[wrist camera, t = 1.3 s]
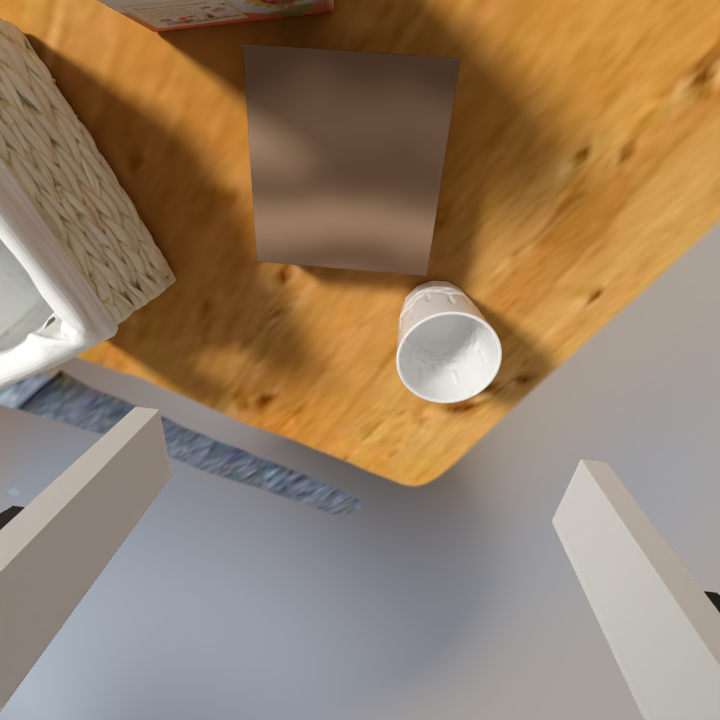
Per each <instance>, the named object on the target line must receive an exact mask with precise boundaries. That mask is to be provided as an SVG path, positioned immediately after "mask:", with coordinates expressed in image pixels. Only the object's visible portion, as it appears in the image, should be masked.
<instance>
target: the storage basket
mask: <svg viewBox="0 0 720 720" xmlns="http://www.w3.org/2000/svg"><path fill="white" fill-rule="evenodd" d="M55 82H56V81H55V79H53V78H52V76H51V74H50V72H49V70H48V68H47V67H46V65H45V64H44V63H43V62H42V61H41V60H40V59H39V57H38V55H37V54H36V52H35V51H34V49H33V47H32V46H31V44H30V42H29V41H28V39H27V38H26V36H25V35H24V34H23V32H22V31H21V30H20V29H19V28H18V27H17V26H16V25H14V24H12V23H11V22H8V21H6V20H2V19H1V18H0V389H1V388H4V387H6V386H9V385H11V384H14V383H16V382H19V381H21V380H23V379H26V378H28V377H31V376H33V375H36V374H38V373H41V372H43V371H46V370H48V369H51V368H53V367H55V366H58V365H60V364H62V363H64V362H66V361H68V360H70V359H72V358H74V357H76V356H77V355H79V354H81V353H83V352H85V351H87V350H88V349H90V348H92V347H94V346H96V345H98V344H99V343H101V342H103V341H105V340H108V339H110V338H112V337H113V336H114V335H115V334H116V332H117V330H118V326H117V325H119V324H120V323H121V322H123V321H125V320H126V319H128V318H129V317H130V316H131V314H132V312H133V311H136V310H138V309H140V308H141V307H142V306H145V305H146V304H147V303H148V302H149V301H150V300H152V299H155V298H156V297H158V296H159V295H160V294H161V293H162V292H164V291H165V289H166V288H168V287H169V286H171V285H172V284H173V283H175V281H176V278H175V276H174V274H173V272H172V270H171V269H170V267H169V266H168V263H167V261H166V259H165V258H164V257H163V255H162V253H161V251H160V250H159V248H158V247H157V246H156V245H155V243H154V241H153V238H152V236H151V234H150V233H149V231H148V230H147V228H146V226H145V225H144V223H143V222H142V220H141V219H140V218H139V216H138V213H137V211H136V209H135V206H134V204H133V202H132V201H131V199H130V198H129V196H128V195H127V193H126V192H125V191H124V190H123V188H122V187H121V186H120V185H119V183H118V181H117V178H116V176H115V174H114V172H113V171H112V169H111V168H110V166H109V165H108V163H107V161H106V160H105V159H104V157H103V156H102V155H101V153H100V152H99V151H98V150H97V147H96V144H95V142H94V139H93V138H92V136H91V135H90V133H89V131H88V130H87V129H86V127H85V126H84V125H83V124H82V123H81V122H80V121H79V120H78V119H77V117H78V115H75V114H74V111H73V110H72V108H71V106H70V105H69V104H68V103H67V101H66V100H65V98H64V97H63V96H62V94H61V92H60V91H59V89H58V88H57V86H56V84H55Z"/></svg>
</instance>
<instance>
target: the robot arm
mask: <svg viewBox="0 0 720 720" xmlns="http://www.w3.org/2000/svg"><path fill="white" fill-rule="evenodd" d="M171 475H172V474H171V469H170V463H169V458H168V453H167V447H166V442H165V437H164V432H163V426H162V421H161V416H160V411H159V410H158V409H150V408H141V407H135V408H134V409H133V410H131V411H130V412H129V413H128V414H127V415H126V416H125V417H124V418H123V419H122V420H121V421H119V422H118V423H117V424H116V425H115V426H114V427H113V428H112V429H111V430H110V431H108V432H107V433H106V434H105V435H104V436H103V437H102V438H101V439H100V440H99V441H97V442H96V443H95V444H94V445H93V446H92V447H91V448H90V449H89V450H88V451H87V452H85V453H84V454H83V455H82V456H81V457H80V458H79V459H78V460H77V461H76V462H74V463H73V464H72V465H71V466H70V467H69V468H68V469H67V470H66V471H65V472H64V473H63V474H61V475H60V476H59V477H58V478H57V479H56V480H55V481H54V482H53V483H51V484H50V485H49V486H48V487H47V488H46V489H45V490H44V491H43V492H42V493H41V494H40V495H38V496H37V497H36V498H35V499H34V500H33V501H32V502H31V503H30V504H29V505H27V506H26V507H18V506H12V507H11V508H9V509H7V510H5V511H4V512H2V513H0V711H1V710H2V708H3V707H4V706H5V704H6V703H7V701H8V700H9V699H10V697H11V696H12V695H13V693H14V692H15V690H16V689H17V688H18V686H19V685H20V684H21V682H22V681H23V679H24V678H25V677H26V675H27V674H28V673H29V671H30V669H31V668H32V667H33V666H34V664H35V663H36V662H37V660H38V659H39V657H40V656H41V655H42V653H43V652H44V651H45V649H46V648H47V646H48V645H49V644H50V642H51V641H52V640H53V638H54V637H55V635H56V634H57V633H58V631H59V630H60V629H61V627H62V626H63V624H64V623H65V621H66V620H67V619H68V617H69V616H70V615H71V613H72V612H73V610H74V609H75V608H76V606H77V605H78V604H79V602H80V601H81V599H82V598H83V597H84V595H85V594H86V593H87V591H88V590H89V589H90V587H91V586H92V584H93V583H94V582H95V580H96V579H97V577H98V576H99V575H100V573H101V572H102V570H103V569H104V568H105V566H106V565H107V564H108V562H109V561H110V560H111V558H112V557H113V555H114V554H115V553H116V551H117V550H118V549H119V547H120V546H121V544H122V543H123V542H124V540H125V539H126V538H127V536H128V535H129V533H130V532H131V531H132V529H133V528H134V527H135V525H136V524H137V522H138V521H139V520H140V518H141V517H142V515H143V514H144V513H145V511H146V510H147V509H148V507H149V506H150V505H151V503H152V502H153V500H154V499H155V498H156V496H157V495H158V493H159V492H160V491H161V489H162V488H163V487H164V485H165V484H166V482H167V481H168V480H169V478H170V477H171ZM552 523H553V525H554V527H555V529H556V531H557V534H558V536H559V538H560V540H561V542H562V544H563V547H564V549H565V551H566V553H567V555H568V557H569V559H570V561H571V564H572V566H573V568H574V570H575V572H576V574H577V577H578V578H579V581H580V583H581V585H582V587H583V590H584V592H585V594H586V596H587V598H588V600H589V602H590V605H591V606H592V609H593V611H594V613H595V615H596V617H597V620H598V622H599V624H600V626H601V628H602V630H603V632H604V635H605V637H606V639H607V641H608V643H609V645H610V647H611V650H612V652H613V654H614V656H615V658H616V660H617V663H618V665H619V667H620V669H621V671H622V673H623V676H624V678H625V680H626V682H627V684H628V686H629V688H630V691H631V693H632V695H633V697H634V699H635V701H636V703H637V706H638V708H639V710H640V712H641V714H642V716H643V718H644V720H720V595H719V594H717V593H713V592H705V591H703V590H702V589H701V588H700V586H699V585H698V583H697V582H696V581H695V579H694V578H693V577H692V576H691V574H690V573H689V572H688V570H687V569H686V568H685V566H684V565H683V564H682V562H681V561H680V560H679V558H678V557H677V556H676V554H675V553H674V552H673V550H672V549H671V548H670V546H669V545H668V544H667V542H666V541H665V540H664V538H663V537H662V536H661V534H660V533H659V532H658V530H657V529H656V528H655V526H654V525H653V524H652V522H651V521H650V520H649V518H648V517H647V516H646V514H645V513H644V512H643V510H642V509H641V508H640V506H639V505H638V504H637V502H636V501H635V500H634V498H633V497H632V496H631V494H630V493H629V492H628V490H627V489H626V488H625V486H624V485H623V484H622V482H621V481H620V480H619V478H618V477H617V476H616V474H615V473H614V472H613V470H612V469H611V468H610V466H609V465H608V464H607V462H601V461H593V460H585V459H581V460H580V463H579V464H578V467H577V469H576V471H575V473H574V475H573V477H572V479H571V482H570V484H569V486H568V488H567V490H566V492H565V494H564V497H563V499H562V501H561V503H560V505H559V507H558V509H557V512H556V514H555V516H554V518H553V520H552Z"/></svg>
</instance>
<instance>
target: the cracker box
mask: <svg viewBox="0 0 720 720" xmlns="http://www.w3.org/2000/svg"><path fill="white" fill-rule="evenodd" d="M98 1H99V2H101V3H103V4H105V5H107V6H108V7H110V8H112V9H114V10H116V11H117V12H119V13H121V14H123V15H125V16H127V17H129V18H130V19H132V20H134V21H135V22H137V23H139V24H141V25H143V26H144V27H146V28H148V29H150V30H151V31H154V32H158V31H167V30H176V29H186V28H195V27H204V26H213V25H221V24H230V23H240V22H249V21H259V20H268V19H276V18H286V17H295V16H303V15H312V14H322V13H330V12H333V11H334V0H98Z"/></svg>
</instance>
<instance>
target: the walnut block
mask: <svg viewBox="0 0 720 720" xmlns="http://www.w3.org/2000/svg"><path fill="white" fill-rule="evenodd" d="M243 57H244V72H245V87H246V102H247V117H248V133H249V148H250V163H251V178H252V193H253V209H254V224H255V239H256V254H257V261H259V262H271V263H282V264H294V265H306V266H317V267H329V268H341V269H352V270H364V271H376V272H387V273H399V274H411V275H422V276H427V270H428V263H429V257H430V250H431V244H432V238H433V231H434V225H435V218H436V212H437V205H438V199H439V193H440V186H441V180H442V173H443V167H444V160H445V154H446V147H447V141H448V135H449V128H450V122H451V115H452V109H453V102H454V96H455V90H456V83H457V77H458V70H459V64H460V59H459V58H445V57H430V56H415V55H401V54H386V53H371V52H357V51H342V50H327V49H313V48H298V47H283V46H269V45H254V44H243Z"/></svg>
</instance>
